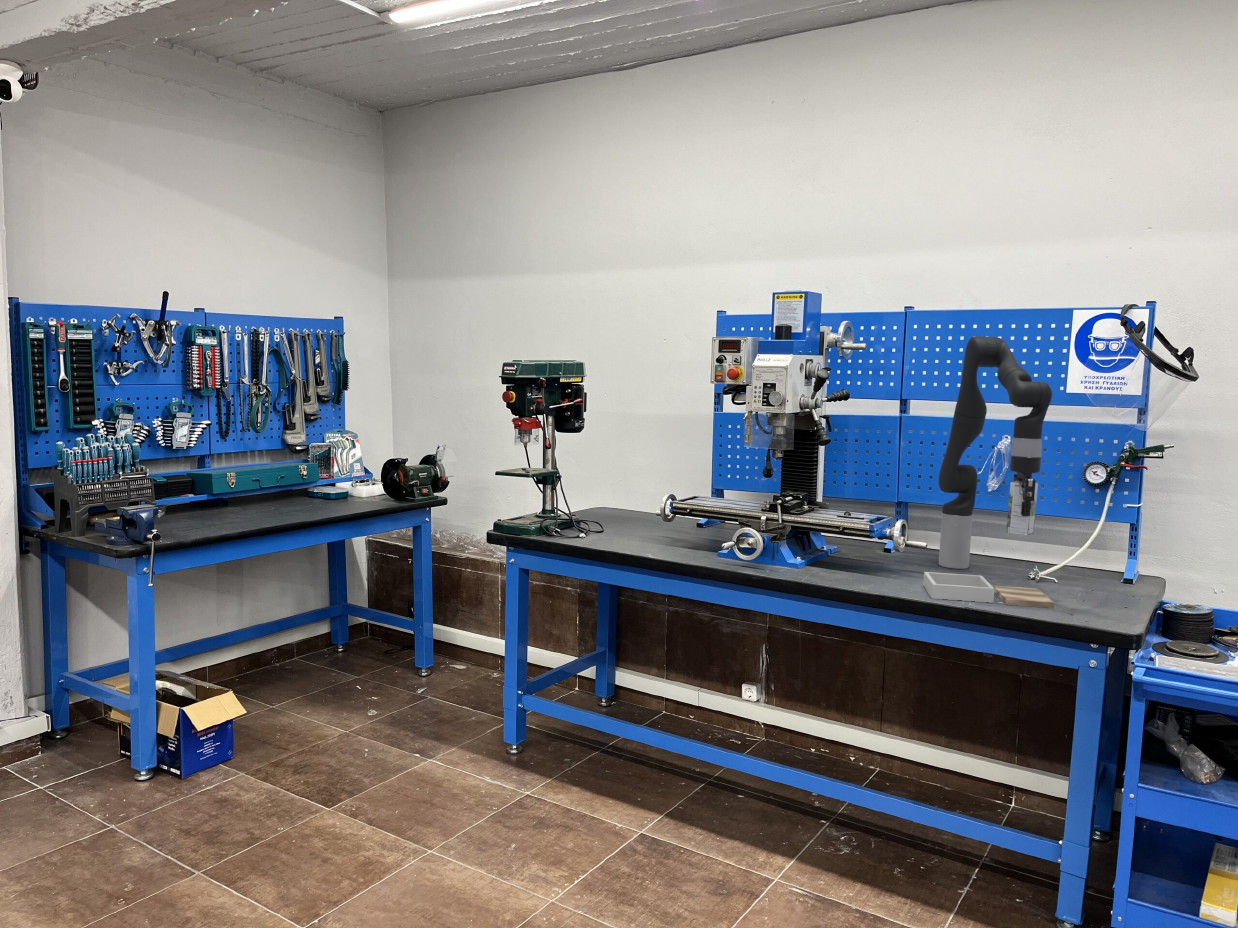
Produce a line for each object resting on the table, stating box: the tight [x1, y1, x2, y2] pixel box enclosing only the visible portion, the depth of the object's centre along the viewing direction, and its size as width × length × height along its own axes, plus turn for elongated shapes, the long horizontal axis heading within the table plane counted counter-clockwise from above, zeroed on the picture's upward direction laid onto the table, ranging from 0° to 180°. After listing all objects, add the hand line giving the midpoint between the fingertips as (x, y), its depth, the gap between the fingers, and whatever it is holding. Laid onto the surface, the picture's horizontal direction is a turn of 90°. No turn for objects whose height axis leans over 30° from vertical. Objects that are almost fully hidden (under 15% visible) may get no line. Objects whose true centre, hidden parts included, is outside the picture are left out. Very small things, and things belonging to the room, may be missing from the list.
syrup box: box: [1006, 481, 1039, 537], centre depth 241 cm, size 6×6×14 cm
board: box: [992, 585, 1055, 609], centre depth 243 cm, size 16×12×2 cm
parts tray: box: [922, 571, 995, 604], centre depth 247 cm, size 16×16×4 cm
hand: (1021, 513), depth 241 cm, fingers closed on syrup box, 7 cm apart
